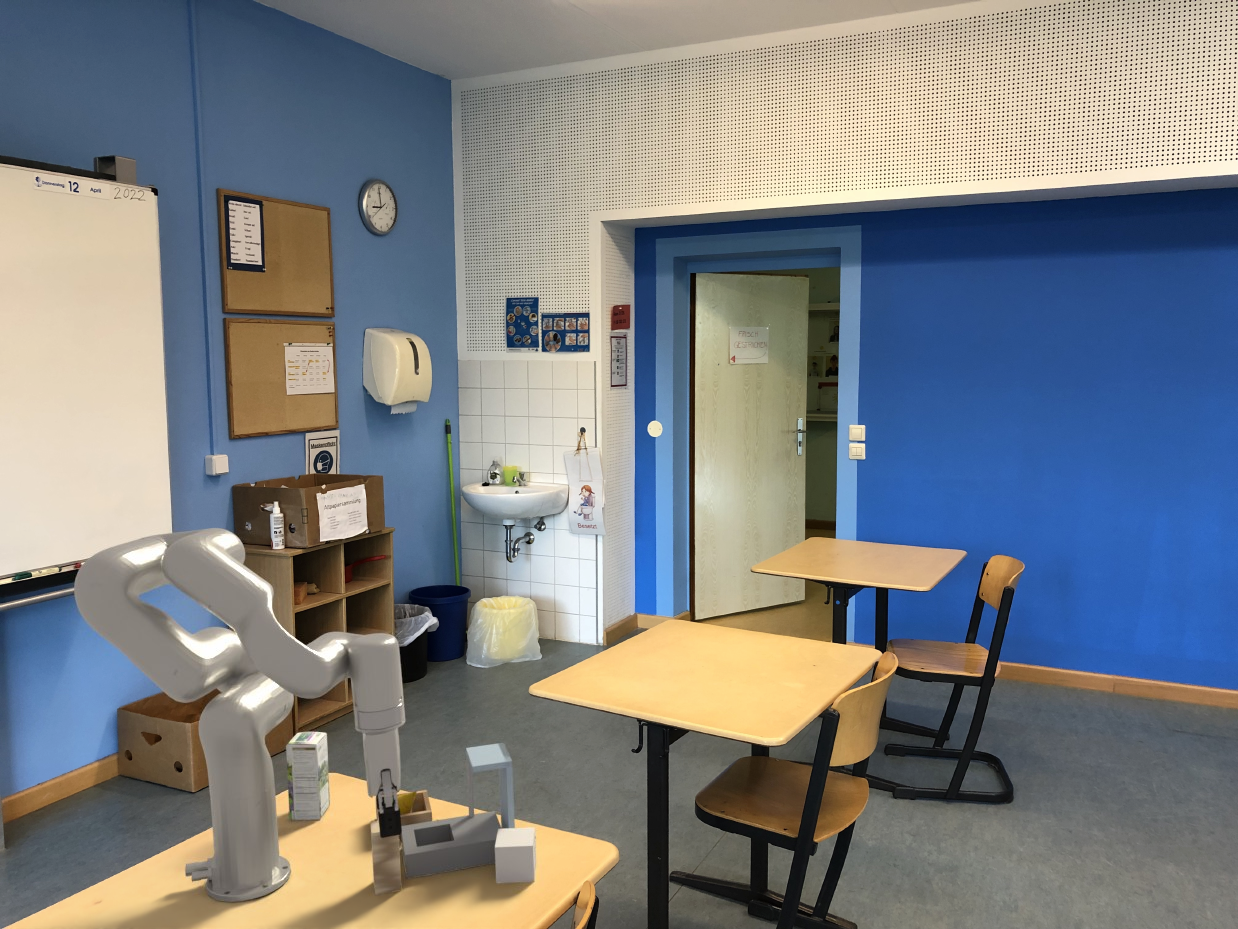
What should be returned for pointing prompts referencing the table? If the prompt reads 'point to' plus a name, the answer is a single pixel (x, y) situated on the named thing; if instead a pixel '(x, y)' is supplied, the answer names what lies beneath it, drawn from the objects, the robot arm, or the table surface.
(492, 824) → the socket
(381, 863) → the peg
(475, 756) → the blue-grey arch piece
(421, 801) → the divided wooden box
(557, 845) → the table surface
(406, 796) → the yellow curved piece
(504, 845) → the white block
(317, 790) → the syrup box
